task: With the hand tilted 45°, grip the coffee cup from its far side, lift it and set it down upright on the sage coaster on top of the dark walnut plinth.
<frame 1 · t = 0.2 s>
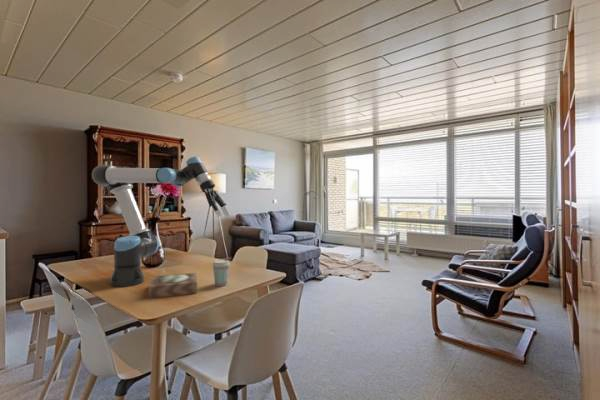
hand: (224, 216, 159), 34 cm above the table, tool tilted 30°, fingers open, 13 cm apart
walnut plinth: (174, 289, 143), on the table
coffee cup: (221, 284, 151), on the table
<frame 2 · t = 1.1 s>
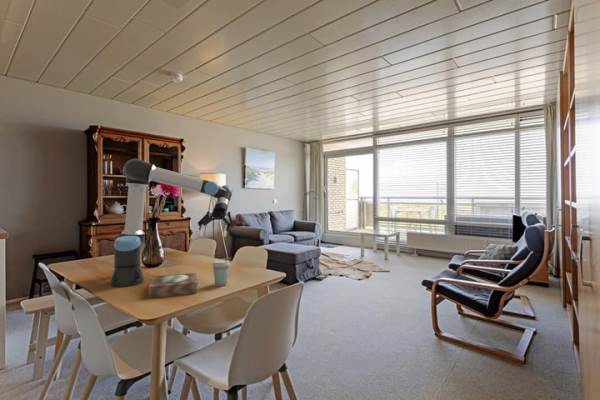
hand: (212, 235, 161), 24 cm above the table, tool tilted 45°, fingers open, 13 cm apart
nothing on the table moved.
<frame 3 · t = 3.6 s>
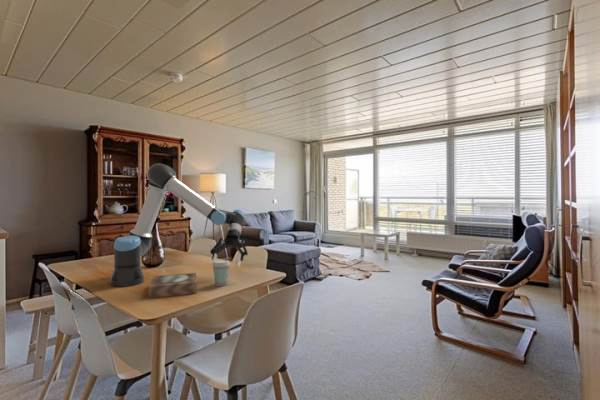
hand: (225, 265, 155), 9 cm above the table, tool tilted 45°, fingers open, 13 cm apart
nothing on the table moved.
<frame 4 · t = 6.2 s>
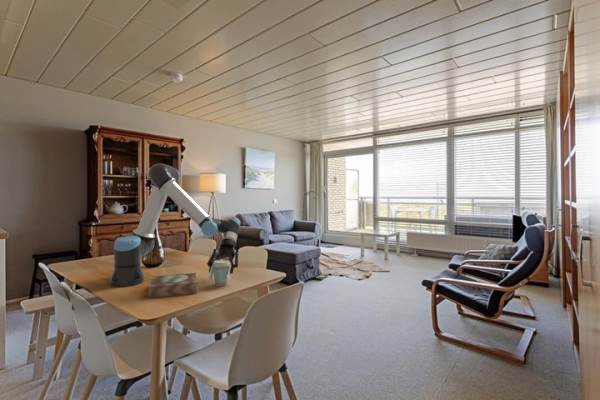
hand: (218, 278, 148), 4 cm above the table, tool tilted 45°, fingers closed on coffee cup, 8 cm apart
coffee cup: (221, 284, 151), on the table, touching gripper
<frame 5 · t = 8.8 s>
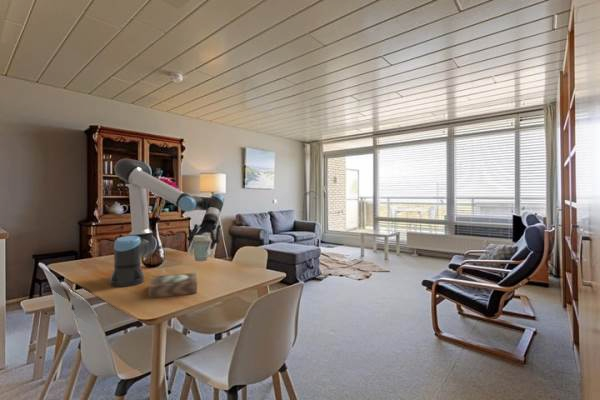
hand: (198, 253, 143), 17 cm above the table, tool tilted 45°, fingers closed on coffee cup, 8 cm apart
coffee cup: (201, 260, 147), point 13 cm above the table, touching gripper
when the fingers open (11 cm above the table, at t = 11.8 s): coffee cup drops 1 cm, resting on walnut plinth.
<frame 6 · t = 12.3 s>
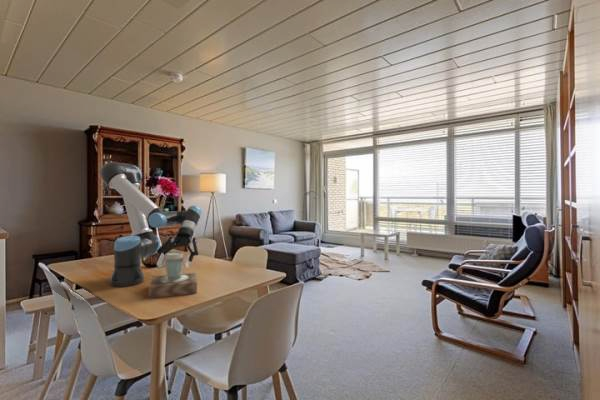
hand: (172, 266, 140), 12 cm above the table, tool tilted 45°, fingers open, 13 cm apart
coffee cup: (174, 278, 143), point 5 cm above the table, touching walnut plinth
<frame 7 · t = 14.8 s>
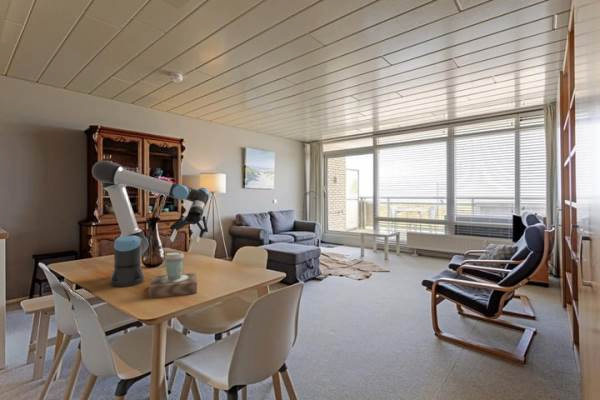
hand: (184, 241, 153), 22 cm above the table, tool tilted 45°, fingers open, 13 cm apart
nothing on the table moved.
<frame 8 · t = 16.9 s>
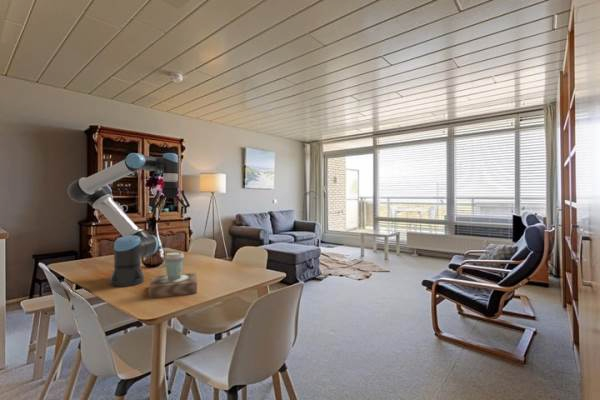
hand: (170, 219, 164), 32 cm above the table, tool pointing down, fingers open, 13 cm apart
nothing on the table moved.
at the end: coffee cup inside the target area on the walnut plinth (0.1 cm from its centre), point 5.2 cm above the walnut plinth's base; coffee cup tilted 0°; the gripper is holding nothing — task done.
